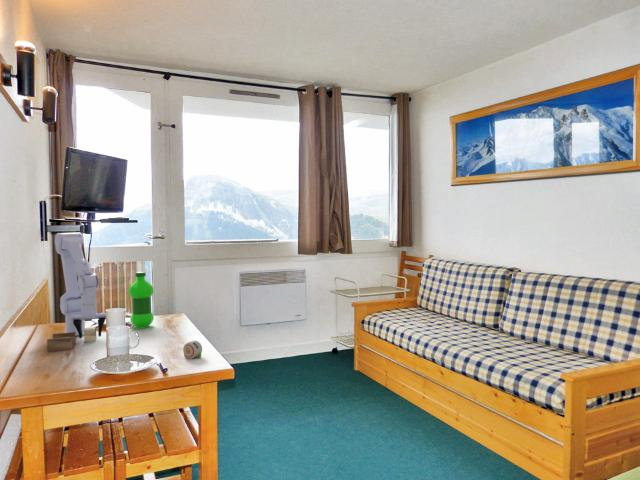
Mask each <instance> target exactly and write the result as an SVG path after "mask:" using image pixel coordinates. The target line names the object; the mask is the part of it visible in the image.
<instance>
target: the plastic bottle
mask: <svg viewBox="0 0 640 480" xmlns="http://www.w3.org/2000/svg"><path fill="white" fill-rule="evenodd" d="M146 273H147V272H146V271H138V272H137V271H135V277H136V280H135V281H134V282H133V283H132V284H131V285H130V286H129V287H128V294H129V296H130V297H131V300H132V301H131V303H132V304H131V308H132V314H131V316H130V323H131V325H133V326H134V327H136V328H137V329H145V328H148V327H149V326H150V325H152V323H153V321H154V315H153V312H152V302H151V301H152V300H151V297H152V296H153V295H154V287H153V285H152V284H151V283H150V282H148V281H147V279H145V277H146V276H147V274H146Z"/></svg>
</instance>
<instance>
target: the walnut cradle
mask: <svg viewBox="0 0 640 480" xmlns="http://www.w3.org/2000/svg"><path fill="white" fill-rule="evenodd" d="M76 337H77V336H75V332H70V333H66V332H60V333H59V332H57V333H52V338H47V339H46V347H47V348H46V349H47V352H57V351H70V350H72V349H73V348H74V346H75V345H76V343H77V342H76Z"/></svg>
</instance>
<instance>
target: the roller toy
mask: <svg viewBox="0 0 640 480" xmlns="http://www.w3.org/2000/svg"><path fill="white" fill-rule="evenodd" d="M182 351H183V357H184V358H186V359H188V360H189V359H191V360H192V359H195V358H196V359H197V358H198V359H199V358H201V357H202V352H203V346H202V344H201V342H199V341H198V340H192V341H189V342H186V343H185V344H184V345H183V348H182Z"/></svg>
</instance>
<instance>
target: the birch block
mask: <svg viewBox="0 0 640 480" xmlns="http://www.w3.org/2000/svg"><path fill="white" fill-rule="evenodd" d="M83 338H84V339H83V340H84V343H88V342H95V341H97V338H98V337H97V327H96V326H93V327H85V329H84V335H83Z"/></svg>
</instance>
